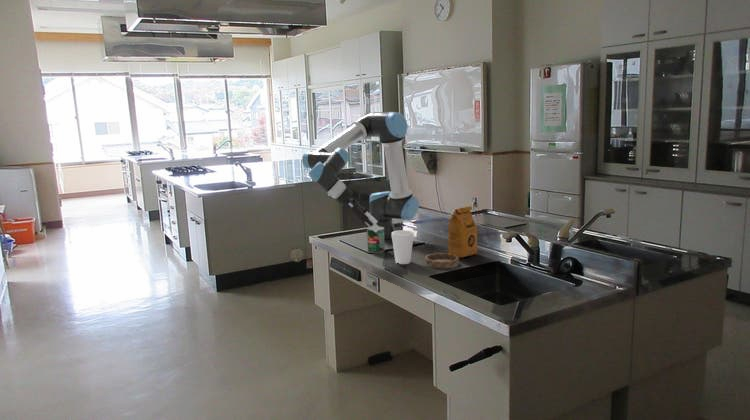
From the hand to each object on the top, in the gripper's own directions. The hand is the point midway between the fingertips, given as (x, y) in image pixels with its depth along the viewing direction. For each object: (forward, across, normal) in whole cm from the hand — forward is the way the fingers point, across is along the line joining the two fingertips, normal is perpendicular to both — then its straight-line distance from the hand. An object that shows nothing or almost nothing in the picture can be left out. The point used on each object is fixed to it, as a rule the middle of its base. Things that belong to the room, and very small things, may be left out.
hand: (376, 226), depth 229 cm
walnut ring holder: (+30, +5, +8) cm, 32 cm away
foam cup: (+19, 0, -4) cm, 20 cm away
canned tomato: (+12, -20, -11) cm, 26 cm away
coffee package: (+39, -7, +16) cm, 43 cm away
